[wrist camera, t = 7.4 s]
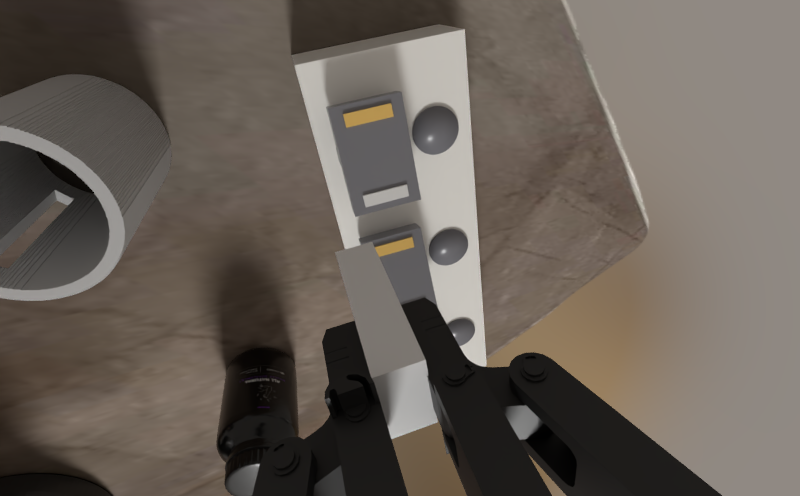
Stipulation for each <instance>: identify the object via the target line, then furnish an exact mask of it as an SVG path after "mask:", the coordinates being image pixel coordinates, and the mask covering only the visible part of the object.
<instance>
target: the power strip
mask: <svg viewBox="0 0 800 496" xmlns="http://www.w3.org/2000/svg"><path fill="white" fill-rule="evenodd" d="M291 56H292V60H293V63H294V67H295V70H296V74H297V78H298V81H299V85H300V89H301V92H302V96H303V100H304V103H305V107H306V110H307V114H308V118H309V121H310V125H311V129H312V132H313V136H314V139H315V143H316V147H317V150H318V154H319V158H320V161H321V165H322V168H323V172H324V176H325V179H326V183H327V187H328V190H329V194H330V198H331V201H332V205H333V208H334V212H335V216H336V219H337V223H338V227H339V230H340V234H341V237H342V241H343V245H344V248H345V249H349V248H352V247H355V246H359V245H360V242H359V238H362V237H366V236H369V235H373V234H377V233H380V232H384V231H388V230H391V229H395V228H399V227H402V226H406V225H410V224H413V223H416V224H417V225H418V226H420V227H421V231H422V236H423V241H424V246H425V250H426V255H427V260H428V264H429V269H430V274H431V278H432V283H433V288H434V293H435V297H436V302H437V307H438V309H439V311H440V313H441V315H442V317H443V318H444V320H445V322H446V324H447V325H448V327H449V329H450V330H451V332H452V334H453V336H454V337H455V339H456V341H457V343H458V344H459V346H460V348H461V350H462V351H463V353H464V355H465V356H466V357H467V359H469V360H470V361H471V362H473V363H474V364H477V365H479V366H483V367H484V366H486V350H485V335H484V319H483V304H482V288H481V273H480V257H479V242H478V227H477V211H476V196H475V180H474V165H473V149H472V134H471V119H470V103H469V88H468V72H467V57H466V41H465V29H461V28H456V27H451V26H446V25H441V24H437V25H432V26H428V27H423V28H418V29H413V30H409V31H404V32H399V33H394V34H389V35H385V36H380V37H375V38H370V39H366V40H361V41H356V42H351V43H346V44H342V45H337V46H332V47H327V48H323V49H318V50H313V51H308V52H303V53H299V54H294V55H291ZM393 91H400V92H402V96H403V102H404V107H405V113H406V118H407V124H408V129H409V135H410V140H411V146H412V151H413V157H414V162H415V168H416V173H417V179H418V184H419V190H420V195H421V200H417V201H414V202H410V203H406V204H402V205H398V206H395V207H391V208H387V209H383V210H380V211H376V212H372V213H368V214H365V215H361V216H357V217H355V215H354V212H353V210H352V206H351V202H350V199H349V195H348V191H347V187H346V183H345V179H344V175H343V171H342V167H341V163H340V160H339V156H338V152H337V148H336V144H335V140H334V136H333V132H332V128H331V125H330V121H329V117H328V113H327V109H326V107H327V106H331V105H335V104H340V103H344V102H349V101H353V100H357V99H362V98H366V97H371V96H375V95H379V94H384V93H388V92H393Z"/></svg>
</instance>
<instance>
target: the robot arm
mask: <svg viewBox="0 0 800 496" xmlns="http://www.w3.org/2000/svg"><path fill="white" fill-rule="evenodd" d="M335 254H336V257H337V261H338V264H339V268H340V271H341V275H342V278H343V282H344V285H345V289H346V292H347V296H348V299H349V302H350V306H351V309H352V313H353V316H354V320H355V321H352V322H349V323H346V324H343V325H340V326H337V327H333V328H330V329H327V330H326V332H325V335H324V338H323V341H322V344H323V350H324V355H325V361H326V365H327V366H326V367H327V372H328V378H329V385H328V387H327V389H326V391H325V401H326V404H327V406H328V409H329V411H330V416H329V418H328V420H327V421H326V422H325V423H324V425H323V426H322V427H320V428H319V429H318V430H317V431H316V432H314V433H313V434H311V435H310V436H308V437H307V438H306V439H304V440H303V439H302V438H300V437H288V438H285V439H282V440H279V441H278V442H277V443H275V444H274V445H272V446H271V447H270V448H269V449H268V451H267V452H266V453H265V454H264V456H263V458H262V460H261V463H260V465H259V469H258V473H257V477H256V481H255V486H254V490H253V494H252V496H408V493H407V490H406V487H405V484H404V480H403V477H402V473H401V470H400V466H399V463H398V460H397V457H396V453H395V450H394V447H393V443H392V440H391V439H393V438H396V437H398V436H401V435H404V434H407V433H409V432H412V431H415V430H418V429H420V428H423V427H425V426H428V425H431V424H434V423H437V422H438V421H437V418H438V420H439V422H440V425H441V427H442V432H443V437H444V443H445V448H446V453H447V454H449V453H450V455H451V458H452V460H453V462H454V465H455V468H456V470H457V472H458V475H459V477H460V479H461V482H462V485H463V487H464V489H465V492H466V494H467V496H552V495H551V493H550V491H549V490H548V488H547V486H546V484H545V483H544V481H543V479H542V478H541V476H540V474H539V472H538V471H537V469H536V467H535V466H534V464H533V462H532V460H531V459H530V457H529V455H530V456H531V457H532V458H533V460H534V461H535V462H536V463H537V464H538V465H539V466H540V467H541V468H542V469H543V470H544V471H545V473H546V474H547V475H548V476H549V477H550V478H551V479H552V480H553V481H554V482H555V483H556V484H557V486H558V487H559V488H560V489H561V490H562V491H563V492H564V493H565V494H566V495H567V496H722V495H721V494H719V493H718V492H717V491H716V490H714V489H713V488H712V487H711V486H709V485H708V484H707V483H706V482H704V481H703V480H702V479H701V478H699V477H698V476H697V475H696V474H694V473H693V472H692V471H691V470H689V469H688V468H687V467H686V466H684V465H683V464H682V463H681V462H679V461H678V460H677V459H676V458H674V457H673V456H672V455H671V454H669V453H668V452H667V451H666V450H664V449H663V448H662V447H661V446H659V445H658V444H657V443H656V442H654V441H653V440H652V439H651V438H649V437H648V436H647V435H646V434H644V433H643V432H642V431H641V430H639V429H638V428H637V427H636V426H634V425H633V424H632V423H631V422H629V421H628V420H627V419H626V418H624V417H623V416H622V415H621V414H620V413H618V412H617V411H616V410H615V409H613V408H612V407H611V406H610V405H608V404H607V403H606V402H605V401H603V400H602V399H601V398H600V397H598V396H597V395H596V394H595V393H593V392H592V391H591V390H590V389H588V388H587V387H586V386H584V385H583V384H582V383H581V382H580V381H578V380H577V379H576V378H574V377H573V376H572V375H571V374H570V373H568V372H567V371H566V370H565V369H563V368H562V367H561V366H560V365H558V364H557V363H556V362H555V361H553V360H552V359H550V358H549V357H546V356H545V355H543V354H539V353H524V354H521V355H519V356H516V357H515V358H514V359H513V360H512V361H511V363H510V366H509V367H495V368H492V367H483V366H479V365H477V364H474V363H473V362H471V361H470V360H469V359H467V357H466V356H465V355H464V353H463V351H462V350H461V348H460V346H459V344H458V343H457V341H456V339H455V337H454V336H453V334H452V332H451V330H450V329H449V327H448V325H447V324H446V322H445V320H444V318H443V317H442V315H441V313H440V311H439V309H438V308H437V306H436V304H434V303H433V302H431V301H430V300H428V299H427V298H421V299H418V300H415V301H412V302H409V303H406V304H403V305H401V304H400V302H399V300H398V298H397V295H396V293H395V291H394V289H393V287H392V284H391V282H390V280H389V278H388V276H387V273H386V271H385V269H384V267H383V265H382V262H381V260H380V258H379V256H378V254H377V251H376V249H375V247H374V245H373V243H372V242H369V243H366V244H362V245H359V246H355V247H352V248H349V249H345V250H342V251H338V252H335ZM528 454H529V455H528ZM0 496H111V495H110V494H109V493H108V492H106V491H105V490H104V489H102V488H101V487H99V486H97V485H95V484H93V483H90V482H87V481H84V480H81V479H78V478H73V477H68V476H62V475H52V474H27V475H17V476H10V477H5V478H0Z"/></svg>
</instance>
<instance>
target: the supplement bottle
mask: <svg viewBox="0 0 800 496" xmlns="http://www.w3.org/2000/svg"><path fill="white" fill-rule="evenodd" d="M298 433H299V430H298V405H297V381H296V369H295V365H294V363H293V361H292V359H291V358H290V357H289V356H288V355H286V354H285V353H283V352H281V351H279V350H276V349H272V348H256V349H252V350H248V351H246V352H244V353H242V354H240V355H239V356H237V357H236V358H235V359H234V360H233V361H232V362H231V363H230V365H229V367H228V369H227V372H226V378H225V384H224V391H223V398H222V405H221V412H220V419H219V426H218V433H217V450H218V453H219V455H220V456H221V458H222V459H223V460H224V461H225V462H226V466H225V471H226V474H225V487H226V489H227V491H228V492H229V493H230V494H231V495H234V496H252V494H253V490H254V486H255V481H256V477H257V473H258V469H259V465H260V463H261V460H262V458H263V456H264V454H265V453H266V452H267V451H268V449H269V448H270V447H271V446H272V445H274V444H275V443H277V442H278V441H279V440H282V439H285V438H288V437H298Z"/></svg>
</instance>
